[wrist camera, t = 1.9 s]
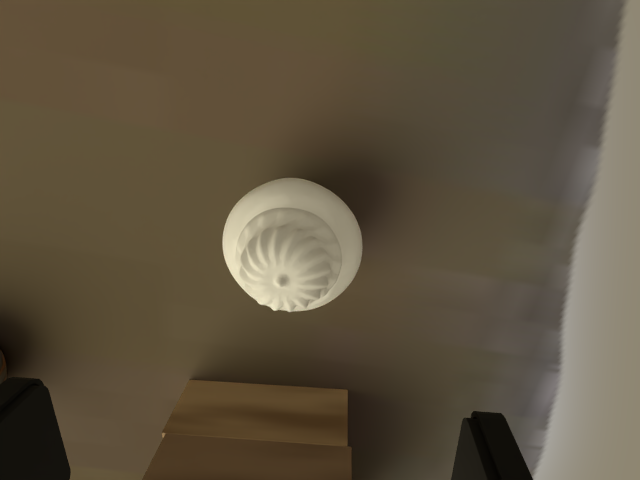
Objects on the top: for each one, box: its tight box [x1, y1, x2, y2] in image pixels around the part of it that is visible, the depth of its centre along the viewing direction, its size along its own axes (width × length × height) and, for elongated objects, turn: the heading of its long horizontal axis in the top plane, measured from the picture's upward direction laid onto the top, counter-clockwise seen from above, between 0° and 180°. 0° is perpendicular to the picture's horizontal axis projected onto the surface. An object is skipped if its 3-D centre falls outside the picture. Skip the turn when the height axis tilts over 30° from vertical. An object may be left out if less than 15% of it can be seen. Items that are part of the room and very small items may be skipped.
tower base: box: [162, 380, 348, 447], centre depth 26 cm, size 10×10×4 cm
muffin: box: [223, 178, 362, 312], centre depth 18 cm, size 6×6×7 cm
